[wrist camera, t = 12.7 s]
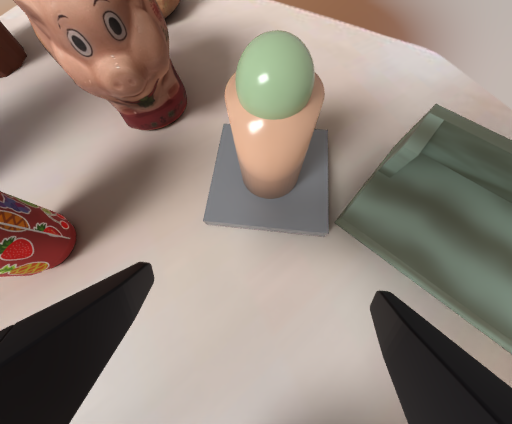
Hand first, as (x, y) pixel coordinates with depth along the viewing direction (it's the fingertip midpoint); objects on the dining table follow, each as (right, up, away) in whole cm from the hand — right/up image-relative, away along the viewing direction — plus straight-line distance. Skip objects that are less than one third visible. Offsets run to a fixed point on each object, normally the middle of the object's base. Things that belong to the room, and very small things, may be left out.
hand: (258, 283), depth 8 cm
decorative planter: (-16, +20, +21) cm, 33 cm away
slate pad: (+2, +7, +16) cm, 17 cm away
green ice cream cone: (+1, +7, +14) cm, 16 cm away
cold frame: (+21, 0, +12) cm, 24 cm away
